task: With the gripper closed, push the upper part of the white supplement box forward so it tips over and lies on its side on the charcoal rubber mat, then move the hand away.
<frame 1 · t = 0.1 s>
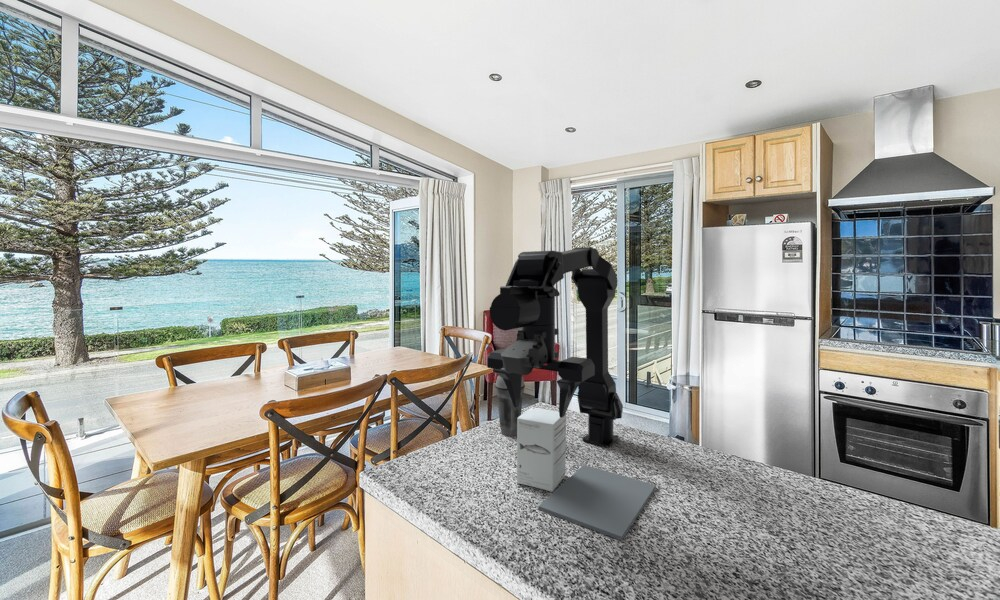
hand: (538, 411, 73), 15 cm above the kitchen island, tool pointing down, fingers open, 9 cm apart
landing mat: (599, 498, 72), on the kitchen island
beverage cup: (510, 433, 102), on the kitchen island
supplement box: (541, 480, 79), on the kitchen island
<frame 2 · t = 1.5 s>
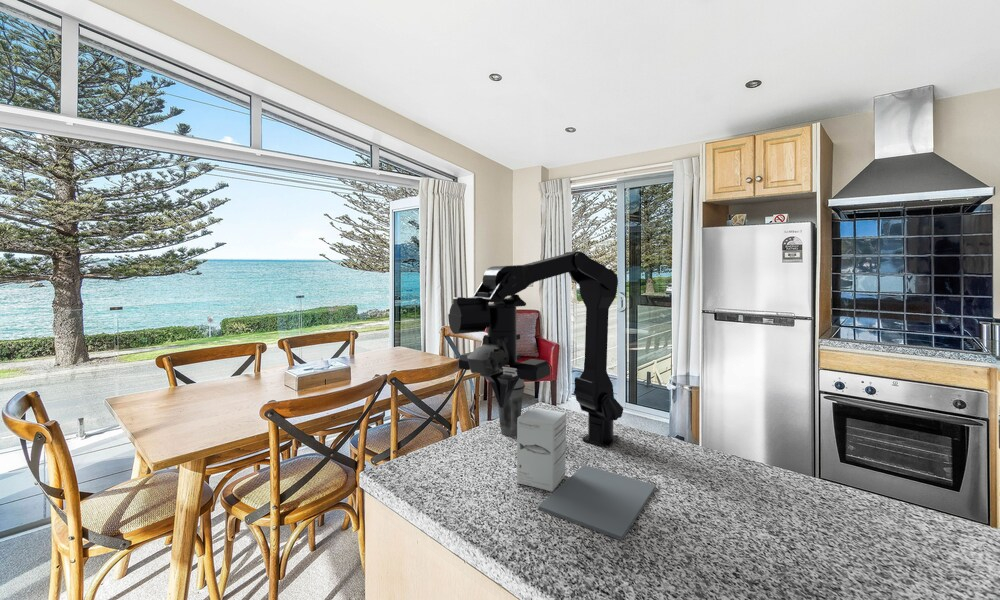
hand: (502, 407, 83), 12 cm above the kitchen island, tool pointing down, fingers closed
nothing on the kitchen island moved.
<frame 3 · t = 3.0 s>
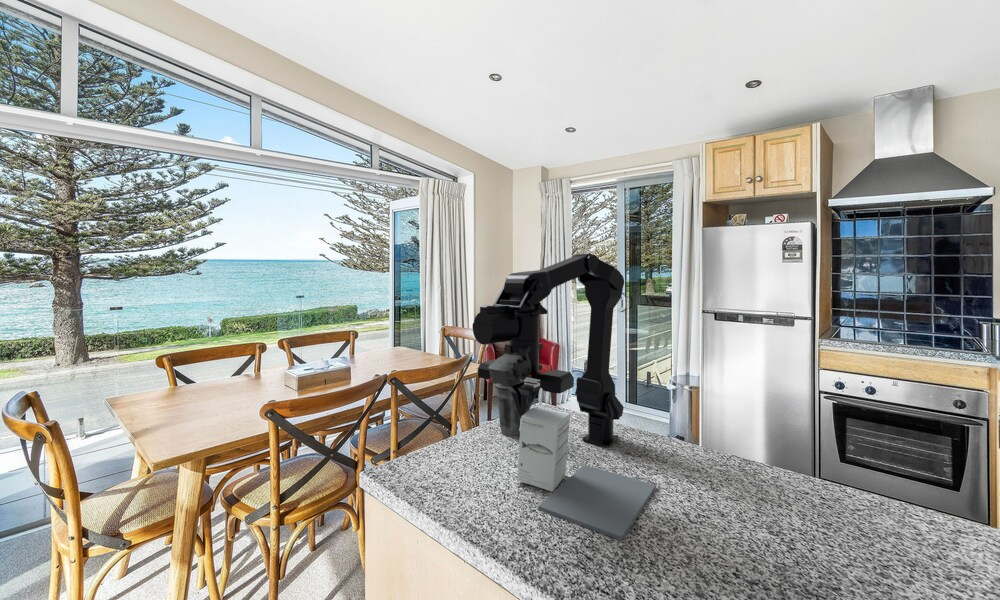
hand: (523, 418, 81), 11 cm above the kitchen island, tool pointing down, fingers closed
supplement box: (541, 479, 79), on the kitchen island, touching gripper
everything else where it was.
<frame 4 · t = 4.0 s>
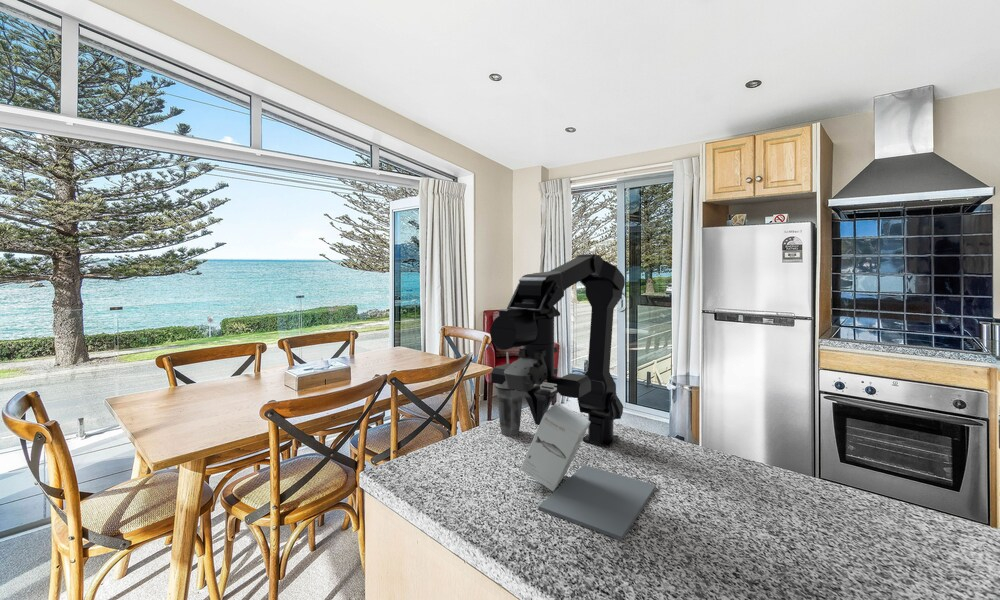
hand: (538, 424, 78), 11 cm above the kitchen island, tool pointing down, fingers closed
supplement box: (542, 474, 79), point 1 cm above the kitchen island
everything else where it was.
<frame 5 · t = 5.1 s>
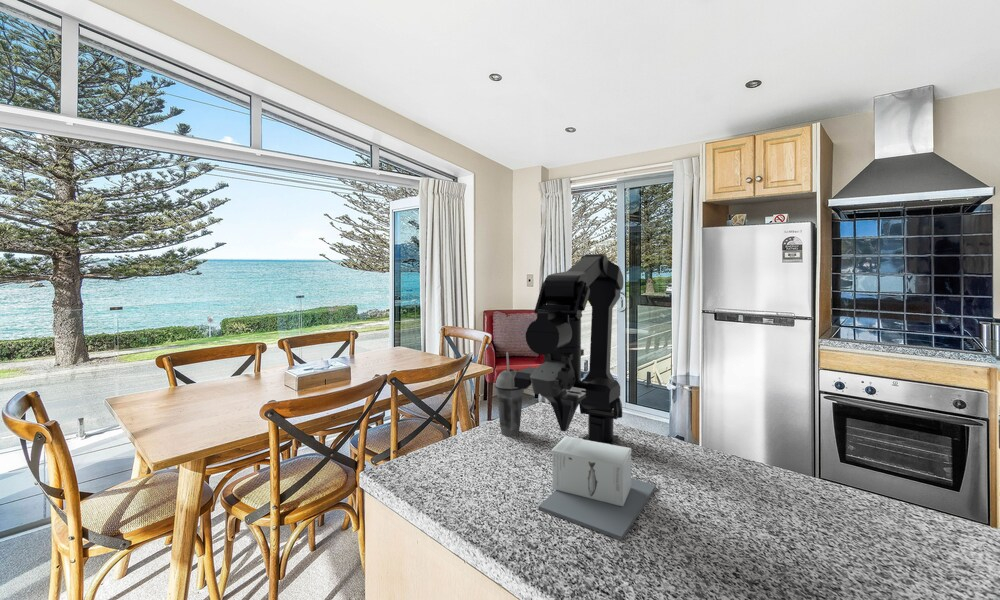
hand: (564, 430, 75), 11 cm above the kitchen island, tool pointing down, fingers closed
supplement box: (557, 461, 77), point 4 cm above the kitchen island, touching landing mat
everything else where it was.
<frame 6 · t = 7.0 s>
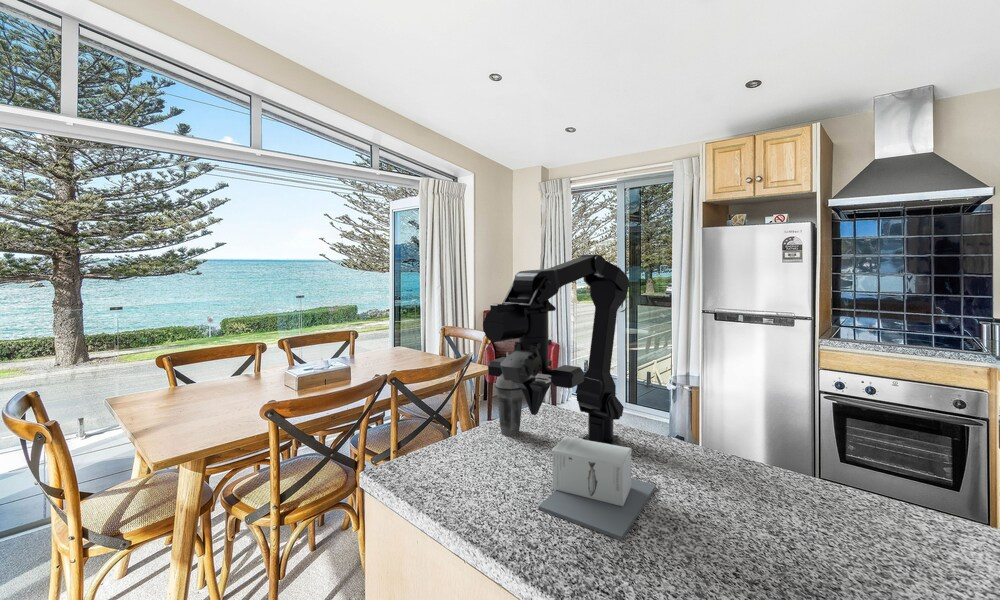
hand: (534, 414, 82), 11 cm above the kitchen island, tool pointing down, fingers closed
nothing on the kitchen island moved.
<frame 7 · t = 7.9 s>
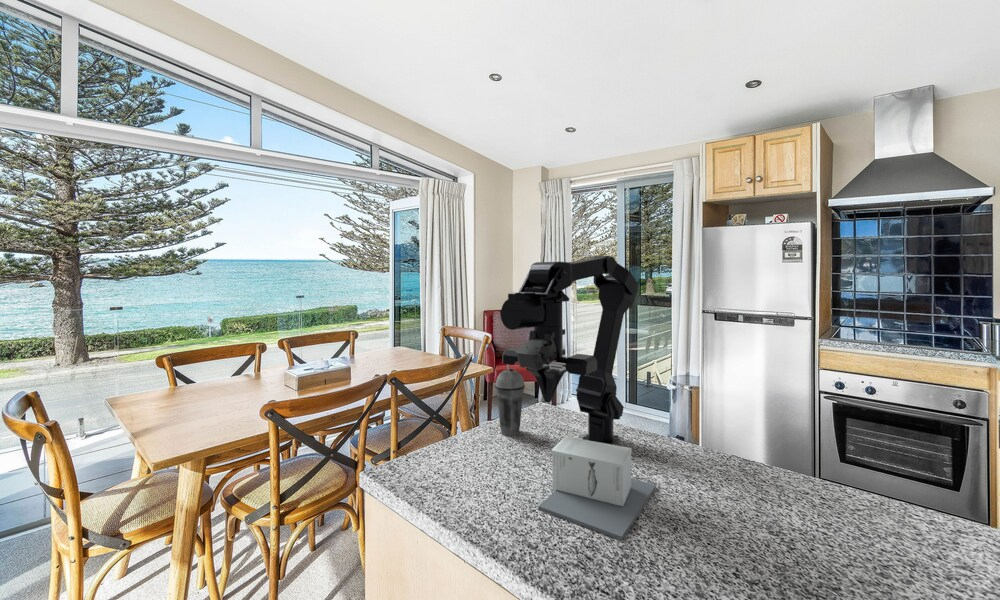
hand: (547, 402, 84), 13 cm above the kitchen island, tool pointing down, fingers closed
nothing on the kitchen island moved.
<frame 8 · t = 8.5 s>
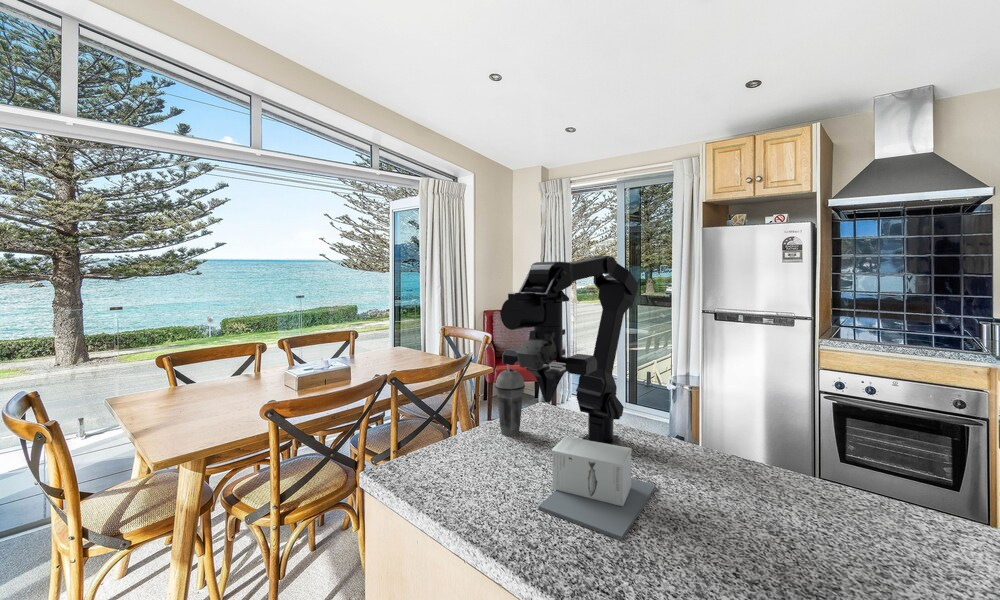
hand: (547, 402, 84), 13 cm above the kitchen island, tool pointing down, fingers closed
nothing on the kitchen island moved.
at the end: supplement box tilted 89°; supplement box touching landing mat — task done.
